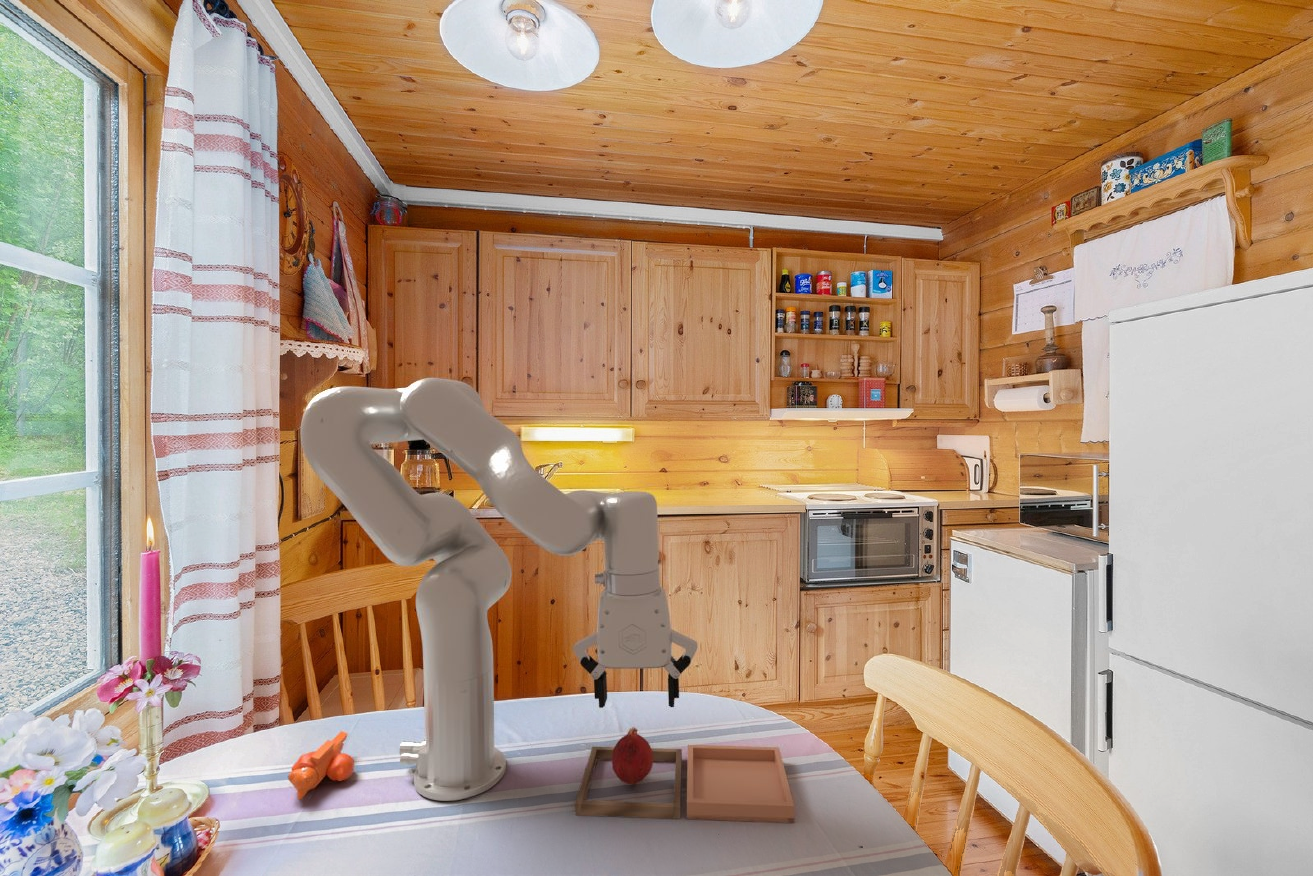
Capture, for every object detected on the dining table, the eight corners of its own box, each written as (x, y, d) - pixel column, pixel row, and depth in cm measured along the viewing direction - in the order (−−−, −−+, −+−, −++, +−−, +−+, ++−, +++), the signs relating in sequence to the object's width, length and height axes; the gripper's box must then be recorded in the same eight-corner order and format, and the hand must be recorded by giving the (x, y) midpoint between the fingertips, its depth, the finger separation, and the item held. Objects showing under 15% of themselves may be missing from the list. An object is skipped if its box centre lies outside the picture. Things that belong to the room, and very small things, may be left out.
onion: (648, 800, 81) (647, 742, 81) (606, 795, 83) (606, 737, 82) (656, 775, 87) (656, 720, 87) (618, 770, 88) (617, 716, 88)
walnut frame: (575, 815, 79) (574, 803, 78) (592, 756, 92) (592, 746, 92) (679, 818, 78) (679, 807, 78) (681, 758, 91) (681, 749, 91)
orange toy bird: (329, 719, 92) (282, 765, 80) (376, 734, 92) (336, 782, 81) (319, 750, 92) (271, 800, 80) (366, 765, 93) (325, 817, 81)
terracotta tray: (686, 819, 78) (686, 802, 78) (687, 759, 91) (687, 744, 91) (794, 823, 77) (794, 806, 77) (779, 761, 90) (779, 747, 90)
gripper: (565, 590, 81) (570, 716, 81) (695, 588, 80) (699, 716, 80) (576, 575, 88) (581, 691, 89) (695, 573, 87) (699, 690, 88)
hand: (637, 703), depth 84 cm, fingers open, 9 cm apart
